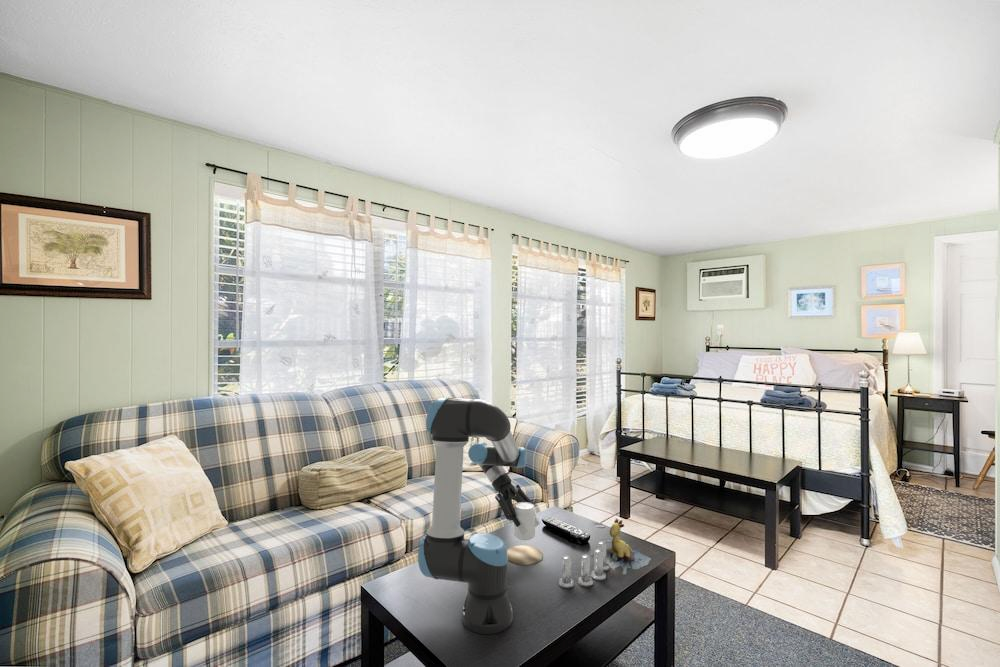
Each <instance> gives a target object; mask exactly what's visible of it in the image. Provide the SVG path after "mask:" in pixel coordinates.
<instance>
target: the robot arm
mask: <svg viewBox="0 0 1000 667" xmlns="http://www.w3.org/2000/svg"><path fill="white" fill-rule="evenodd" d="M425 429H426V433H428V434H429V435H431V441H432V442H433V444H434V445H435V461H434V462H435V463H434V464H435V466H434V483H433V499H432V500H433V501H432V516H431V517H432V518H431V526H429V528H428V529H427V530H426V534H425V535H424V534H423V536H422V537H421V539H420V540H419V545H418V546H419V547H418V549H417V562H418V563H417V564H418V568H419V570H420V572H421V573H422V576H425V577H427V578H432V579H434V580H444V581H451V582H459V583H467V585H468V586H467V587H468V588H467V594H466V597H465V600H464V604H463V607H462V612H461V621H462V624H463V625H464V627H465V628H466V629H468V630H469V631H471V632H473V633H475V634H481V635H494V634H497V633H501V632H503V631H505V630H507V629H508V628H509V627H510V626H511V624H512V623H513V618H514V617H513V615H514V614H513V613H514V612H513V610H514V609H513V607H512V604H511V602H510V597H509V593H508V562H509V560H508V557H507V550H508V548H507V545H506V543H505V541H504V540H503V539H502V538H501V537H499V536H497V535H495V534H492V533H487V532H480V533H473V534H472V535H471V536H470V537H469V538H468V539H467V538H465V530H464V528H462V527H461V523H460V522H461V509H462V508H461V505H462V503H461V502H462V486H463V485H462V484H463V468H464V467H463V466H464V464H463V463H464V447H465V446H466V445H467V444H468V443H469V440H470V438H469V437H476V438H477V437H480V438H481V437H482V438H485V439H486V440H488V441H489V442H491V444H492V445H491V444H490V445H489V444H488V443H487V442H485V441H484V442H480V443H479V442H478V443H477V442H476V443H473V444H472V445H471V446H470V447H469V449H468V452H467V454H468V458H469V460H471V462H472V463H473V464H474V465H477V466H479V467H480V468H481V470H482V471H483V473H484V475H485V476H486V477H487V479H488V481H489V483H491V486H492V487H493V489H494V491H495V492H498V493H497V494H496V495H495V496H494V499H495V500H496V501H497V502H498V505H499V507H500V509H501V511H502V512H503V514H504V517H505V519H506V520H508V521H510V522H511V521H512V522H513V525H514V524H515V525H516V527H518V529H519V530H520V532H521V533H522V535H524V534H525V533H526V532H527V531H528V530H527V528H526V527H525V525H524V524H523V522H522V521H521V519H520V518H519V516H516V513H515V510H514V508H515V506H514V503H513V501H515V502H516V504H517V503H519V502H529V503H532V504H533V505H534V503H533V502H532V501H531V499H530V497H529V496H528V495H527V494H526V493H525V492H524V491H523V490H522V488H521V486H520V484H516V485H513V484H512V478H510V476H509V474H508V473H507V472H506V470H505V468H504V467H509V468H510V467H511V468H516V469H517V468H525V467H526V465H527V463H528V462H527V461H528V460H527V459H528V450H527V448H525V447H522V446H518V445H517V442H516V440H515V438H514V436H513V434H512V432H511V422H510V419H509V417H508V416H507V414H506V413H505V412H504V411H503V410H502V409H501V408H500V407H499V406H497V405H495V404H493V403H492V402H489V401H487V400H484V399H480V398H479V399H478V398H459V397H458V398H456V397H455V398H454V397H439V398H436V399H435V400H434V401H433V402H432V403H431V405H430V406H429V408H428V411H427V414H426V420H425ZM540 524H541V522H540V520H539V519H538V517H537V514H535V528H537V527H539V525H540Z"/></svg>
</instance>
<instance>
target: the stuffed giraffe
mask: <svg viewBox="0 0 1000 667" xmlns="http://www.w3.org/2000/svg"><path fill="white" fill-rule="evenodd" d="M623 527H625V524H623V519H620V520H619V519H618V518H615V520H614V523H612V525H611V527H610V529H609V535H610V537H611V538H612V540H611V547H609V548H606V563H608V564H609V568H610V569H612V570H614V571H615V570H616V569H615V568H618V567H620V568H621V569H623V570H622V572H621V574H622V575H624V576H625V575H626V574H627V571H628V569H632V570H635V571H636V570H639V569H641V568H644V567H646V566H648V565H650V564H649V562H650V561H652V558H651V557H649V556H647V555H645V554H644V553H641V552H639V551H638V550H635V549H633V548H631V547H630V545H629V544H628V543H627V542H625V541H624V540H621V539H620V537H621V536H620V535H621V530H622V528H623ZM631 553H634V554H633V557H634V561H631V562H630V563H629V561H630V559H631ZM590 558H594V554H593V555H590ZM611 560H613V561H611ZM614 561H615V562H614ZM624 561H627V562H624Z"/></svg>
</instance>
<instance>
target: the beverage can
mask: <svg viewBox="0 0 1000 667" xmlns="http://www.w3.org/2000/svg"><path fill="white" fill-rule="evenodd" d="M532 503H533V502H532ZM532 503H529V502H519V503H517V502H516V503H515V505H514V510H515V513H516V516H519V518H520V519H521V521H522V522H523V524H524V525H525V527H526V528H527V530H528V531H527V532H526V533H525V534H524V535H522V533H521V532H520V530H519V529H518V527H516V525H515V524H514V523H513V536H514V538H516V539H518V540H520V541H530V540H532V539H534V538H535V536H536V527H535V515H536V508H535V505H534V503H533V504H532Z"/></svg>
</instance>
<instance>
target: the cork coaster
mask: <svg viewBox="0 0 1000 667" xmlns="http://www.w3.org/2000/svg"><path fill="white" fill-rule="evenodd" d="M507 557H508V562H511V563H513V564H516V565H520V566H529V565H530V566H531V565H534V564H537V563H539V562H541V561H542V559H543V552H542V551H541V550H540V549H539V548H537V547H536V546H535V547H534V546H531V545H515V546H512V547H510V548H507Z"/></svg>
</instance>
